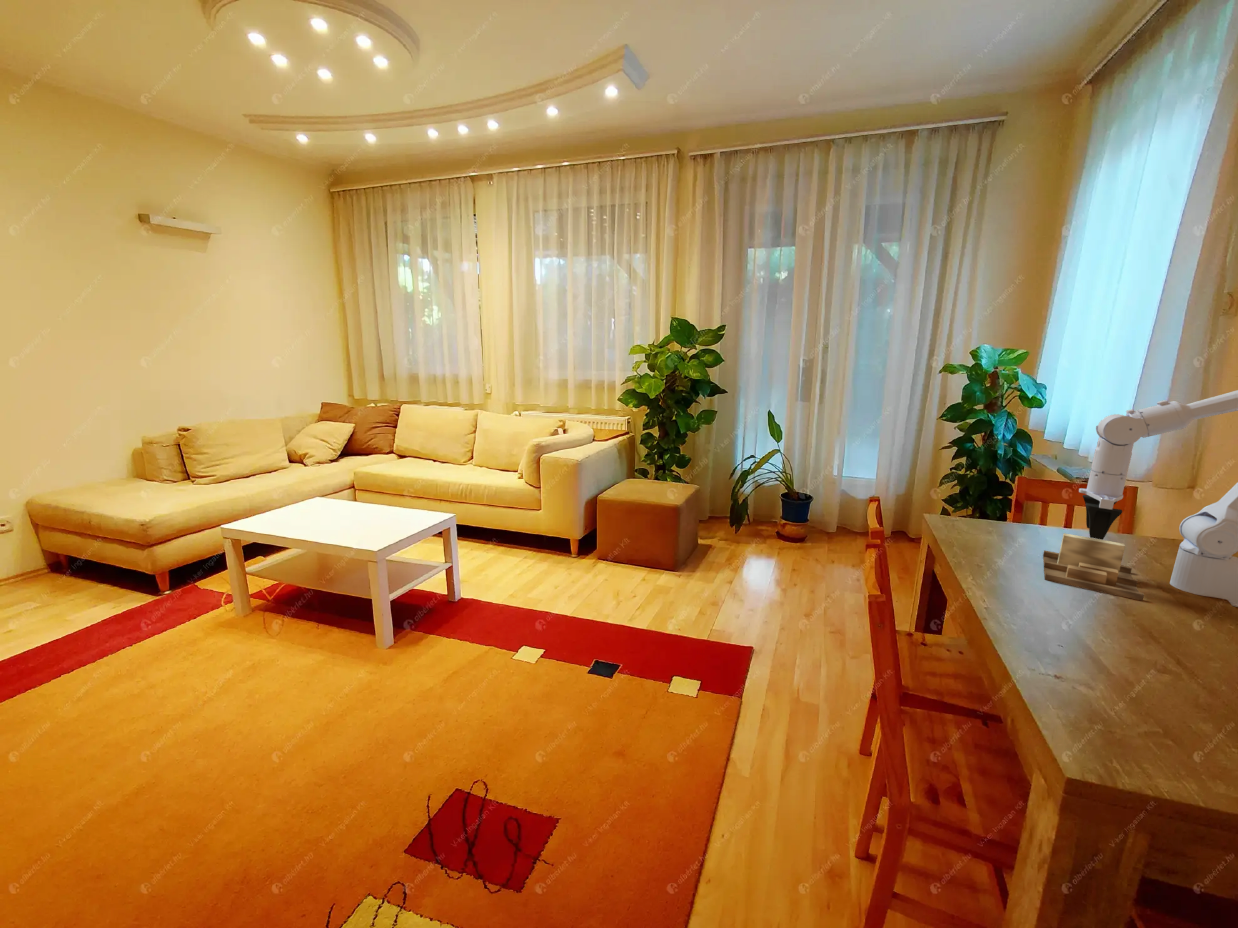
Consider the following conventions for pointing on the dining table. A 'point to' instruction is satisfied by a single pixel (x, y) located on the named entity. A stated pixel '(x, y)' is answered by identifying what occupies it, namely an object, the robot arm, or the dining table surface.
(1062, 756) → the dining table surface
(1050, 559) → the walnut rack
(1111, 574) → the teak offcut
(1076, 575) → the teak offcut
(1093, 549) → the birch panel
